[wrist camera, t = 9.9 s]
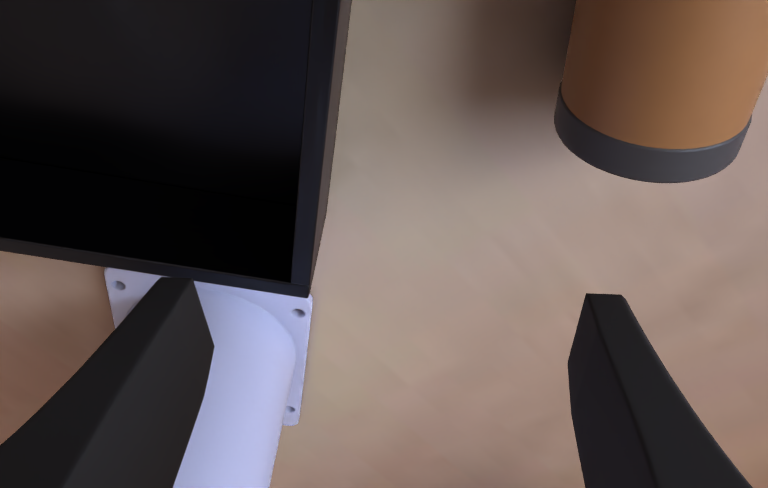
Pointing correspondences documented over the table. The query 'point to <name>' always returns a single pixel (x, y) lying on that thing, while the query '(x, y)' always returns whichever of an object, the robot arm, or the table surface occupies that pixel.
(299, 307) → the robot arm
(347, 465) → the table surface
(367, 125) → the table surface
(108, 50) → the tray
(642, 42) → the tube
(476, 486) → the table surface
